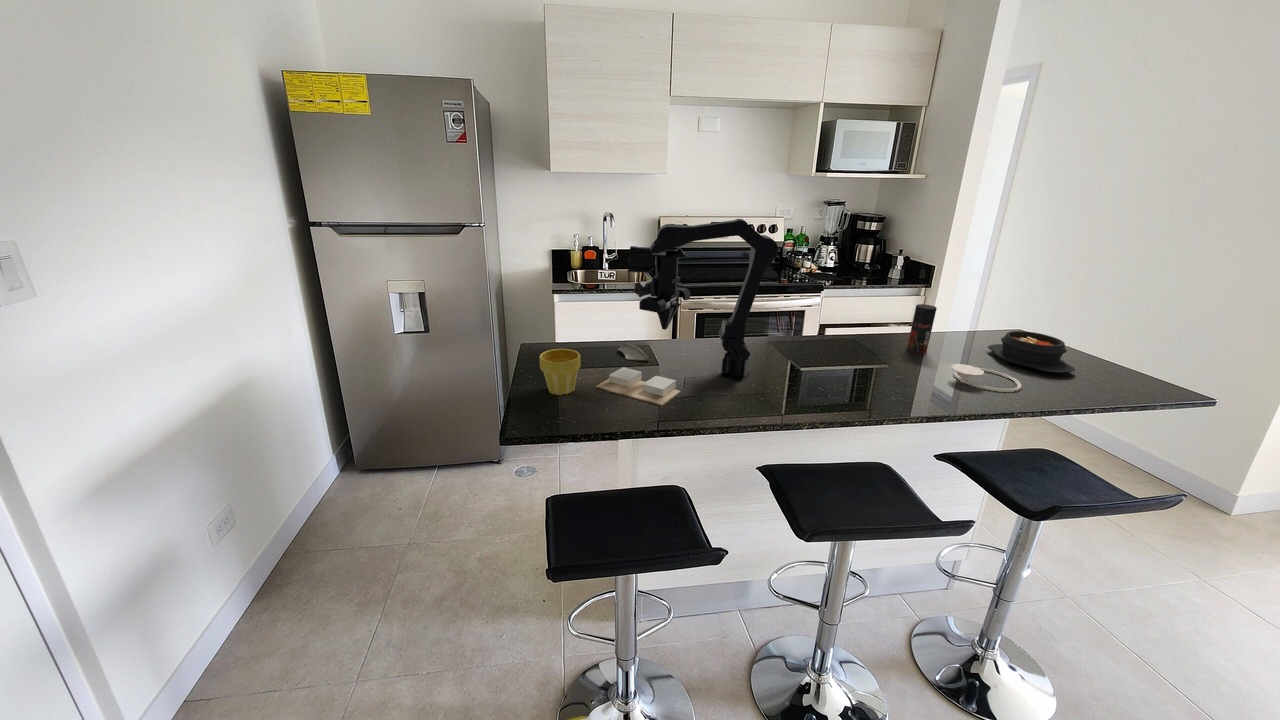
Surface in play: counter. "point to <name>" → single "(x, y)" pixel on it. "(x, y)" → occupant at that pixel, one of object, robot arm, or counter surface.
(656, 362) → the counter surface
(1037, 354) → the casserole
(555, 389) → the plant pot
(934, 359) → the counter surface
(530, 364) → the counter surface
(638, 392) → the cork mat
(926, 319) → the deodorant
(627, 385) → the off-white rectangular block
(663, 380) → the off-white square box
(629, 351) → the ceramic fragment
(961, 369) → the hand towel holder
